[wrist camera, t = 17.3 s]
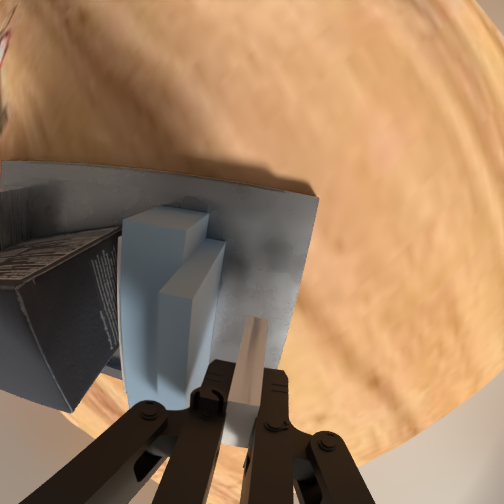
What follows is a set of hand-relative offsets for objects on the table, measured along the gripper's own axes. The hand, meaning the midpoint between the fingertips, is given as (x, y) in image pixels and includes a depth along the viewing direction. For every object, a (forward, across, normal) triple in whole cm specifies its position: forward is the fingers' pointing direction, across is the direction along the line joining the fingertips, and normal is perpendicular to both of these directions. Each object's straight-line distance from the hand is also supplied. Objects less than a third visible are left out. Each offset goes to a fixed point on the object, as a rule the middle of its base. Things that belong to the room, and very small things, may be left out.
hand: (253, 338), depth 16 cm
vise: (+4, -11, 0) cm, 12 cm away
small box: (+3, -13, 0) cm, 13 cm away
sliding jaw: (+3, -5, 0) cm, 6 cm away
